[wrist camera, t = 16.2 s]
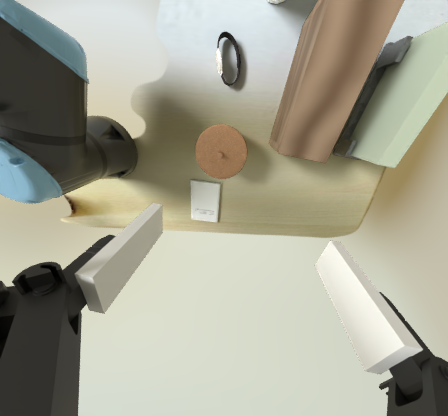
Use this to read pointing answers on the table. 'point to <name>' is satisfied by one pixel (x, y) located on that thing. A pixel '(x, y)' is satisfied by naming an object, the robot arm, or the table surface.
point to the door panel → (404, 100)
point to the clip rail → (370, 93)
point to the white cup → (275, 1)
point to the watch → (219, 59)
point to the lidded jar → (221, 151)
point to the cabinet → (329, 73)
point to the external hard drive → (205, 200)
